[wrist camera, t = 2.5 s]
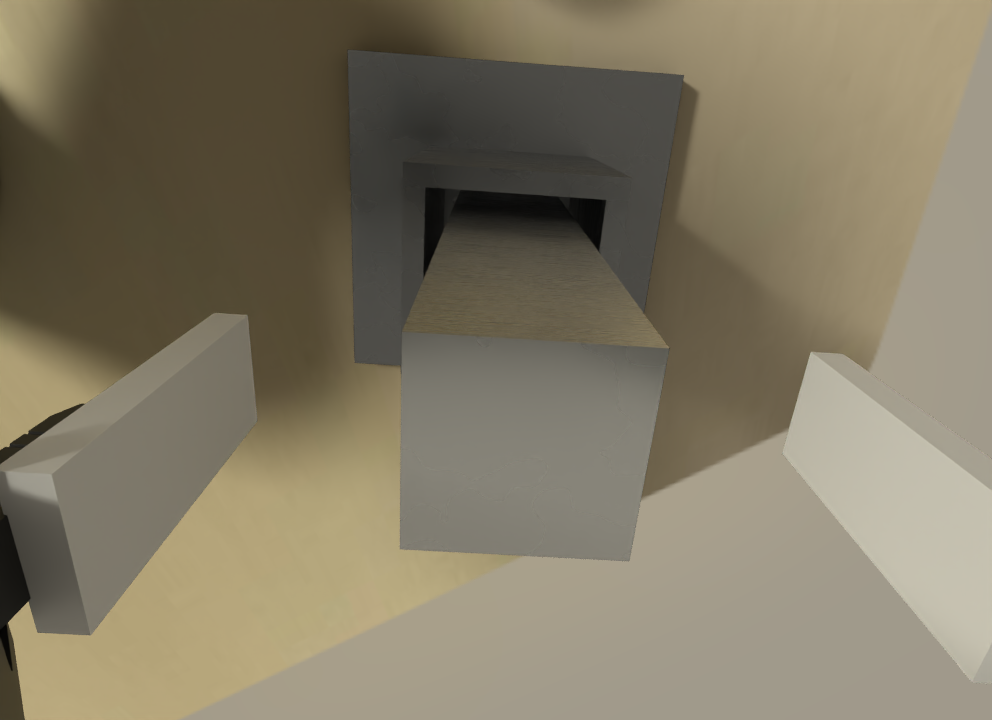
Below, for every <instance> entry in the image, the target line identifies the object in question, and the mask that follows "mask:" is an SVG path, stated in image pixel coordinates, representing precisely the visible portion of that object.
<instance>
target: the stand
mask: <svg viewBox="0 0 992 720" xmlns="http://www.w3.org/2000/svg"><path fill="white" fill-rule="evenodd" d="M683 78H684V75H676V74H663V73H650V72H636V71H623V70H610V69H597V68H583V67H570V66H557V65H544V64H531V63H517V62H504V61H491V60H478V59H465V58H451V57H438V56H425V55H412V54H398V53H385V52H372V51H359V50H348V88H349V132H350V177H351V221H352V266H353V310H354V355H355V363H367V364H383V365H400V366H401V371H402V330H403V328H404V325H405V323H406V321H407V318H408V316H409V313H410V311H411V308H412V306H413V304H414V301H415V299H416V296H417V294H418V291H419V289H420V287H421V284H422V282H423V279H424V277H425V274H426V272H427V270H428V267H429V265H430V262H431V260H432V257H433V255H434V253H435V250H436V248H437V245H438V243H439V240H440V238H441V236H442V233H443V231H444V228H445V226H446V223H447V221H448V219H449V216H450V214H451V211H452V209H453V206H454V204H455V202H456V199H457V197H458V194H459V192H460V190H472V191H487V192H501V193H516V194H530V195H544V196H558V197H559V198H560V200H561V201H562V202H563V204H564V205H565V207H566V208H567V209H568V211H569V212H570V213H571V215H572V216H573V217H574V219H575V220H576V222H577V223H578V224H579V226H580V227H581V228H582V230H583V231H584V232H585V234H586V235H587V237H588V238H589V239H590V241H591V242H592V243H593V245H594V246H595V247H596V249H597V250H598V252H599V253H600V254H601V256H602V257H603V258H604V260H605V261H606V262H607V264H608V265H609V267H610V268H611V269H612V271H613V272H614V273H615V275H616V276H617V277H618V279H619V280H620V282H621V283H622V284H623V286H624V287H625V288H626V290H627V291H628V292H629V294H630V295H631V297H632V298H633V299H634V301H635V302H636V303H637V305H638V306H639V307H640V309H641V310H642V312H643V313H644V309H645V304H646V298H647V292H648V286H649V280H650V274H651V268H652V262H653V256H654V250H655V244H656V238H657V232H658V226H659V220H660V214H661V208H662V203H663V197H664V191H665V185H666V179H667V173H668V167H669V161H670V155H671V149H672V143H673V137H674V131H675V125H676V119H677V113H678V108H679V102H680V96H681V90H682V84H683Z"/></svg>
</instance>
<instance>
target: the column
mask: <svg viewBox="0 0 992 720" xmlns="http://www.w3.org/2000/svg"><path fill="white" fill-rule="evenodd" d="M669 349H670V348H669V347H668V346H667V344H666V343H665V342H664V340H663V339H662V337H661V336H660V335H659V333H658V332H657V331H656V329H655V328H654V327H653V325H652V324H651V322H650V321H649V320H648V318H647V317H646V316H645V314H644V313H643V312H642V310H641V309H640V307H639V306H638V305H637V303H636V302H635V301H634V299H633V298H632V297H631V295H630V294H629V292H628V291H627V290H626V288H625V287H624V286H623V284H622V283H621V282H620V280H619V279H618V277H617V276H616V275H615V273H614V272H613V271H612V269H611V268H610V267H609V265H608V264H607V262H606V261H605V260H604V258H603V257H602V256H601V254H600V253H599V252H598V250H597V249H596V247H595V246H594V245H593V243H592V242H591V241H590V239H589V238H588V237H587V235H586V234H585V232H584V231H583V230H582V228H581V227H580V226H579V224H578V223H577V222H576V220H575V219H574V217H573V216H572V215H571V213H570V212H569V211H568V209H567V208H566V207H565V205H564V204H563V202H562V201H561V200H560V198H559V197H558V196H544V195H530V194H516V193H501V192H487V191H472V190H460V192H459V194H458V197H457V199H456V202H455V204H454V206H453V209H452V211H451V214H450V216H449V219H448V221H447V223H446V226H445V228H444V231H443V233H442V236H441V238H440V240H439V243H438V245H437V248H436V250H435V253H434V255H433V257H432V260H431V262H430V265H429V267H428V270H427V272H426V274H425V277H424V279H423V282H422V284H421V287H420V289H419V291H418V294H417V296H416V299H415V301H414V304H413V306H412V308H411V311H410V313H409V316H408V318H407V321H406V323H405V325H404V328H403V330H402V371H401V478H400V549H405V550H424V551H443V552H463V553H482V554H501V555H520V556H539V557H558V558H579V559H598V560H616V561H629V560H630V554H631V549H632V544H633V538H634V533H635V528H636V522H637V517H638V512H639V506H640V502H641V496H642V491H643V486H644V481H645V475H646V470H647V465H648V460H649V454H650V449H651V444H652V438H653V433H654V428H655V423H656V417H657V412H658V407H659V402H660V396H661V391H662V386H663V380H664V375H665V370H666V365H667V359H668V354H669Z"/></svg>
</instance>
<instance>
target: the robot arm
mask: <svg viewBox="0 0 992 720" xmlns="http://www.w3.org/2000/svg"><path fill="white" fill-rule="evenodd" d="M256 422H257V411H256V400H255V389H254V378H253V367H252V356H251V345H250V334H249V323H248V315H240V314H225V313H213V314H212V315H210V316H209V317H208V318H206V319H205V320H203V321H202V322H201V323H199V324H198V325H196V326H195V327H193V328H192V329H191V330H189V331H188V332H186V333H185V334H184V335H182V336H181V337H179V338H178V339H177V340H175V341H174V342H172V343H171V344H169V345H168V346H167V347H165V348H164V349H162V350H161V351H160V352H158V353H157V354H155V355H154V356H153V357H151V358H150V359H148V360H147V361H145V362H144V363H143V364H141V365H140V366H138V367H137V368H136V369H134V370H133V371H131V372H130V373H128V374H127V375H126V376H124V377H123V378H121V379H120V380H119V381H117V382H116V383H114V384H113V385H112V386H110V387H109V388H107V389H106V390H104V391H103V392H102V393H100V394H99V395H97V396H96V397H95V398H93V399H92V400H90V401H89V402H88V403H86V404H79V405H77V406H74V407H72V408H69V409H67V410H64V411H62V412H59V413H57V414H54V415H52V416H50V417H49V418H47V419H46V420H44V421H43V422H41V423H40V424H38V425H37V426H35V427H34V428H32V429H31V430H29V433H28V434H24V435H22V436H21V437H19V438H18V439H16V440H15V441H13V442H12V443H10V447H4V448H3V449H1V450H0V720H25V719H24V712H23V705H22V698H21V691H20V684H19V677H18V670H17V663H16V656H15V649H14V642H13V638H12V635H11V632H10V628H9V625H8V622H9V621H10V620H11V619H12V618H13V616H14V615H15V614H16V613H17V612H18V611H19V610H20V609H21V608H22V607H23V606H24V605H25V604H26V603H27V602H28V601H29V605H30V608H31V612H32V615H33V618H34V622H35V625H36V629H37V632H38V633H56V634H75V635H91V634H92V633H93V632H94V630H95V629H96V628H97V627H98V625H99V624H100V623H101V622H102V620H103V619H104V618H105V616H106V615H107V614H108V613H109V611H110V610H111V609H112V607H113V606H114V605H115V604H116V602H117V601H118V600H119V598H120V597H121V596H122V595H123V593H124V592H125V591H126V589H127V588H128V587H129V586H130V584H131V583H132V582H133V580H134V579H135V578H136V577H137V575H138V574H139V573H140V571H141V570H142V569H143V568H144V566H145V565H146V564H147V562H148V561H149V560H150V559H151V557H152V556H153V555H154V553H155V552H156V551H157V550H158V548H159V547H160V546H161V544H162V543H163V542H164V541H165V539H166V538H167V537H168V535H169V534H170V533H171V532H172V530H173V529H174V528H175V526H176V525H177V524H178V523H179V521H180V520H181V519H182V517H183V516H184V515H185V514H186V512H187V511H188V510H189V508H190V507H191V506H192V505H193V503H194V502H195V501H196V499H197V498H198V497H199V496H200V494H201V493H202V492H203V490H204V489H205V488H206V487H207V485H208V484H209V483H210V482H211V480H212V479H213V478H214V476H215V475H216V474H217V473H218V471H219V470H220V469H221V467H222V466H223V465H224V464H225V462H226V461H227V460H228V458H229V457H230V456H231V455H232V453H233V452H234V451H235V449H236V448H237V447H238V446H239V444H240V443H241V442H242V440H243V439H244V438H245V437H246V435H247V434H248V433H249V431H250V430H251V429H252V428H253V426H254V425H255V424H256ZM782 454H783V455H784V456H785V458H786V459H787V460H788V461H789V462H790V464H791V465H792V466H793V467H794V468H795V470H796V471H797V472H798V473H799V474H800V476H801V477H802V478H803V479H804V481H805V482H806V483H807V484H808V485H809V487H810V488H811V489H812V490H813V491H814V492H815V494H816V495H817V496H818V497H819V499H820V500H821V501H822V502H823V503H824V505H825V506H826V507H827V508H828V509H829V511H830V512H831V513H832V514H833V515H834V517H835V518H836V519H837V520H838V521H839V523H840V524H841V525H842V526H843V528H844V529H845V530H846V531H847V532H848V533H849V535H850V536H851V537H852V538H853V540H854V541H855V542H856V543H857V544H858V546H859V547H860V548H861V549H862V550H863V552H864V553H865V554H866V555H867V556H868V557H869V559H870V560H871V561H872V562H873V564H874V565H875V566H876V567H877V568H878V570H879V571H880V572H881V573H882V574H883V576H884V577H885V578H886V579H887V581H888V582H889V583H890V584H891V585H892V587H893V588H894V589H895V590H896V591H897V593H898V594H899V595H900V596H901V597H902V599H904V601H905V602H906V603H907V605H908V606H909V607H910V608H911V609H912V611H913V612H914V613H915V614H916V615H917V617H918V618H919V619H920V620H921V621H922V623H923V624H924V625H925V626H926V628H927V629H928V630H929V631H930V632H931V633H932V635H933V636H934V637H935V638H936V640H937V641H938V642H939V643H940V644H941V645H942V647H943V648H944V649H945V650H946V652H947V653H948V654H949V655H950V656H951V658H952V659H953V660H954V661H955V662H956V664H957V665H958V666H959V667H960V668H961V670H962V671H963V672H964V673H965V674H966V676H967V677H968V678H969V679H970V681H971V682H976V683H992V458H990V457H989V456H988V455H986V454H985V453H983V452H982V451H980V450H979V449H977V448H976V447H975V446H973V445H972V444H971V443H969V442H968V441H966V440H965V439H963V438H962V437H960V436H959V435H958V434H956V433H955V432H953V431H952V430H950V429H949V428H948V427H946V426H945V425H943V424H942V423H940V422H939V421H938V420H936V419H935V418H934V417H932V416H931V415H929V414H928V413H926V412H925V411H924V410H922V409H921V408H919V407H918V406H916V405H915V404H914V403H912V402H911V401H909V400H908V399H907V398H905V397H903V396H902V395H901V394H899V393H898V392H897V391H895V390H894V389H892V388H891V387H889V386H888V385H887V384H885V383H884V382H882V381H881V380H879V379H878V378H877V377H875V376H874V375H872V374H871V373H870V372H868V371H867V370H865V369H864V368H862V367H861V366H860V365H858V364H857V363H855V362H854V361H852V360H851V359H850V358H848V357H847V356H845V355H844V354H838V353H822V352H811V353H810V356H809V360H808V363H807V367H806V371H805V374H804V378H803V381H802V385H801V388H800V392H799V395H798V399H797V402H796V406H795V409H794V413H793V416H792V420H791V424H790V427H789V431H788V435H787V438H786V442H785V445H784V449H783V452H782Z"/></svg>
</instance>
